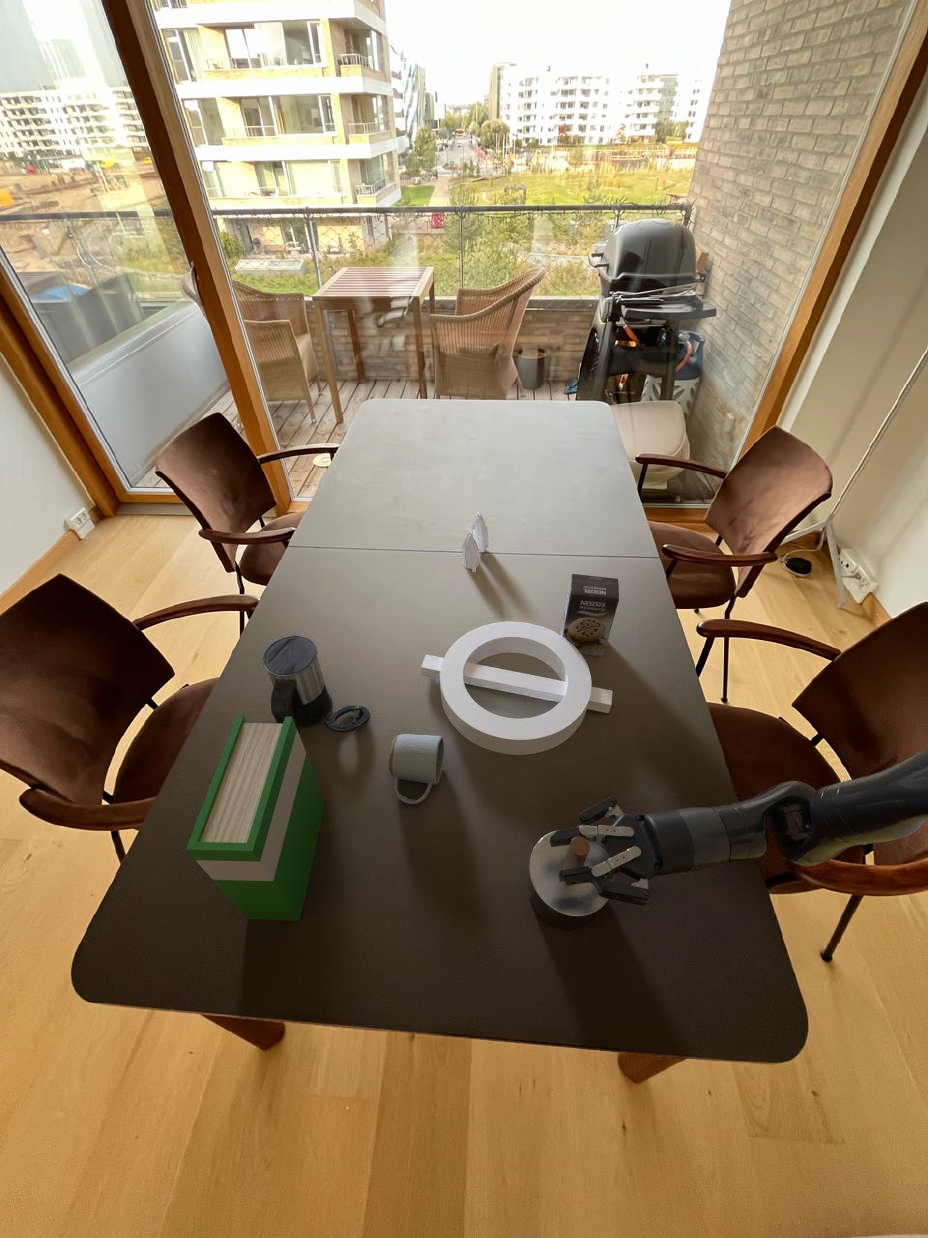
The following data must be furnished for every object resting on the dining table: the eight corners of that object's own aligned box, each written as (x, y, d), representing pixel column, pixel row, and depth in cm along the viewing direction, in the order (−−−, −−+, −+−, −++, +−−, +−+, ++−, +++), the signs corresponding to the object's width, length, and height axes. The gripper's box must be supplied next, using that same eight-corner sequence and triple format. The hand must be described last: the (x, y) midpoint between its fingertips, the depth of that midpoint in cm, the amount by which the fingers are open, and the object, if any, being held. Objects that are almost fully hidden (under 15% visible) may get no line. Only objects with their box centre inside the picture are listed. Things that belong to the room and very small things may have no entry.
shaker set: (475, 540, 139) (476, 502, 131) (491, 543, 138) (492, 506, 130) (459, 569, 131) (458, 531, 124) (475, 572, 130) (476, 534, 123)
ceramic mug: (399, 747, 97) (394, 723, 91) (445, 752, 96) (443, 728, 91) (385, 804, 90) (380, 781, 84) (435, 810, 89) (433, 787, 83)
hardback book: (280, 801, 90) (236, 715, 73) (325, 802, 90) (292, 716, 73) (247, 919, 77) (185, 849, 60) (299, 920, 77) (252, 851, 60)
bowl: (615, 905, 79) (625, 887, 74) (556, 946, 75) (563, 930, 70) (570, 842, 85) (576, 822, 80) (514, 877, 81) (517, 858, 76)
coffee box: (558, 652, 113) (569, 594, 101) (560, 630, 117) (570, 572, 106) (604, 658, 111) (619, 599, 100) (603, 635, 116) (618, 577, 105)
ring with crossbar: (618, 711, 102) (623, 696, 99) (491, 782, 92) (492, 767, 89) (530, 619, 119) (532, 603, 116) (415, 670, 109) (413, 655, 106)
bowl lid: (630, 889, 74) (646, 862, 68) (562, 937, 70) (572, 913, 63) (577, 818, 81) (586, 788, 74) (512, 858, 77) (516, 829, 70)
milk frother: (281, 692, 105) (261, 640, 95) (364, 676, 108) (353, 623, 98) (283, 756, 96) (261, 705, 85) (374, 736, 98) (363, 685, 88)
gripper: (668, 776, 75) (544, 793, 73) (716, 885, 65) (574, 908, 63) (654, 802, 80) (539, 819, 78) (697, 907, 70) (566, 928, 68)
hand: (555, 858), depth 71 cm, fingers open, 4 cm apart
